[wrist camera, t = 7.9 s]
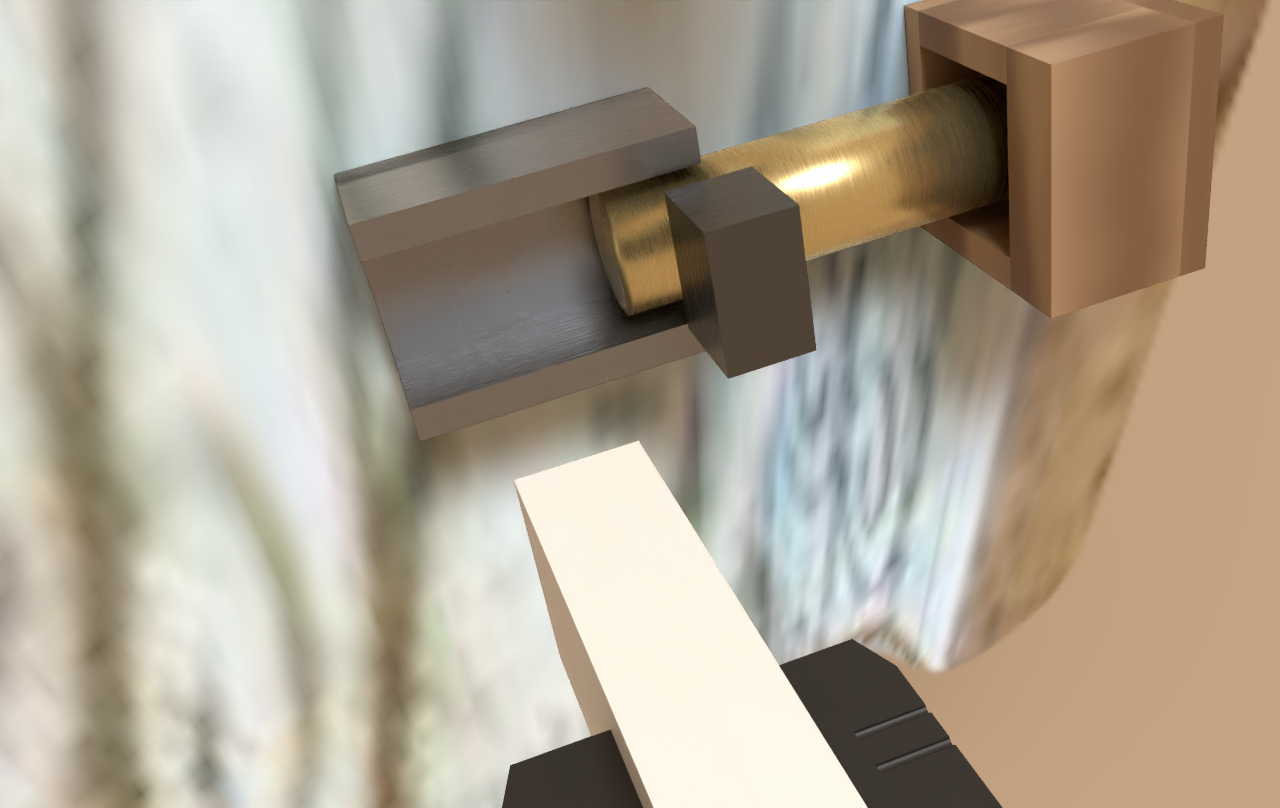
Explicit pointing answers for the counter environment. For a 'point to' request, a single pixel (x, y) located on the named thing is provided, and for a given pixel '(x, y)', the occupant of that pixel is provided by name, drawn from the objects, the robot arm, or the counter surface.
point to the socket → (1083, 139)
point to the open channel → (513, 259)
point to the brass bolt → (796, 214)
